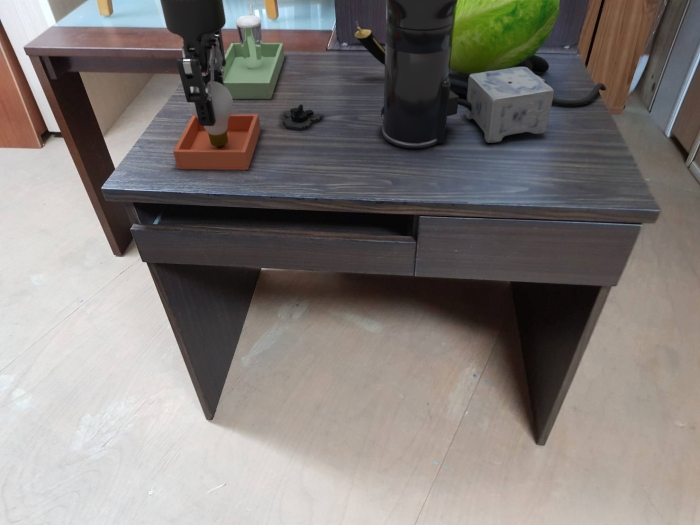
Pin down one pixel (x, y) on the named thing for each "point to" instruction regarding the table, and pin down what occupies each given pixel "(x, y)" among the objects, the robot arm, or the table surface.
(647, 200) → the table surface
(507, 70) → the incense holder
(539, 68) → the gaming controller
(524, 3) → the lettuce
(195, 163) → the terracotta tray
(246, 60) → the milkshake cup
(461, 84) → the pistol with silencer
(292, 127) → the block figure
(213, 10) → the robot arm
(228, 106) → the light bulb
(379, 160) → the table surface
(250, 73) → the green tray
